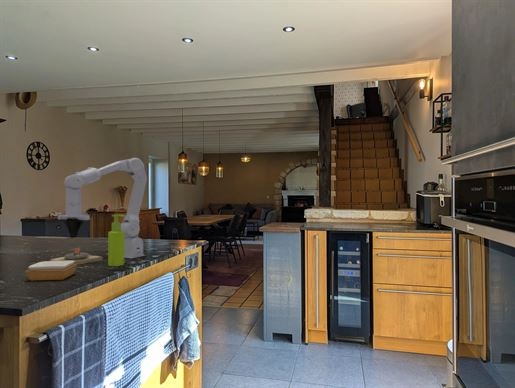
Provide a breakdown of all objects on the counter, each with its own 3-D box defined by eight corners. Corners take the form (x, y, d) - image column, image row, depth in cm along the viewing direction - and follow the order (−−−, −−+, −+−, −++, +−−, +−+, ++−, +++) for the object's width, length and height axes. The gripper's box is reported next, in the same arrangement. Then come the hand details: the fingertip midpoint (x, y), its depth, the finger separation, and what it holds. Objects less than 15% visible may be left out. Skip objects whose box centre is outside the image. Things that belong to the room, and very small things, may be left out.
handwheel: (63, 256, 147) (63, 246, 147) (87, 254, 152) (87, 245, 152) (65, 260, 139) (65, 249, 139) (90, 258, 144) (90, 247, 144)
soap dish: (77, 274, 123) (77, 260, 123) (65, 281, 113) (65, 265, 113) (40, 275, 121) (40, 260, 121) (24, 282, 112) (24, 266, 112)
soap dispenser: (120, 266, 135) (120, 215, 135) (105, 265, 136) (105, 214, 136) (129, 263, 140) (129, 214, 140) (114, 262, 142) (114, 213, 142)
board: (102, 259, 148) (102, 256, 148) (71, 265, 136) (71, 262, 136) (81, 256, 155) (81, 253, 155) (50, 262, 142) (50, 258, 142)
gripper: (51, 204, 140) (51, 237, 141) (79, 204, 136) (79, 239, 136) (66, 203, 147) (66, 235, 147) (93, 204, 143) (93, 237, 143)
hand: (73, 237), depth 142 cm, fingers closed
